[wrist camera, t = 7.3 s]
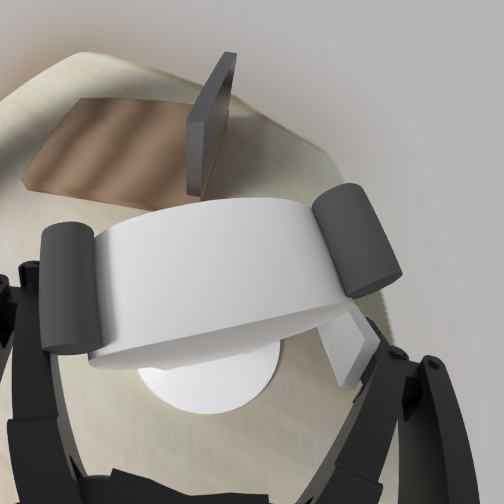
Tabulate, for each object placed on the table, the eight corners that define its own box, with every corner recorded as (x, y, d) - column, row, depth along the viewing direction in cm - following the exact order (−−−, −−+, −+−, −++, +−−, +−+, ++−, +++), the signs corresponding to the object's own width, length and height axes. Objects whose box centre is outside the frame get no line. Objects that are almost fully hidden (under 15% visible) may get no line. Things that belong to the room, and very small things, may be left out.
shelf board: (27, 190, 23) (20, 179, 21) (83, 109, 29) (80, 98, 27) (197, 219, 25) (197, 206, 23) (226, 123, 31) (228, 110, 29)
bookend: (186, 194, 23) (185, 120, 16) (216, 113, 29) (224, 51, 22) (200, 197, 23) (204, 123, 16) (227, 114, 29) (237, 53, 22)
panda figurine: (264, 257, 24) (334, 113, 11) (303, 388, 20) (456, 379, 7) (122, 282, 21) (41, 145, 8) (149, 424, 17) (56, 497, 3)
